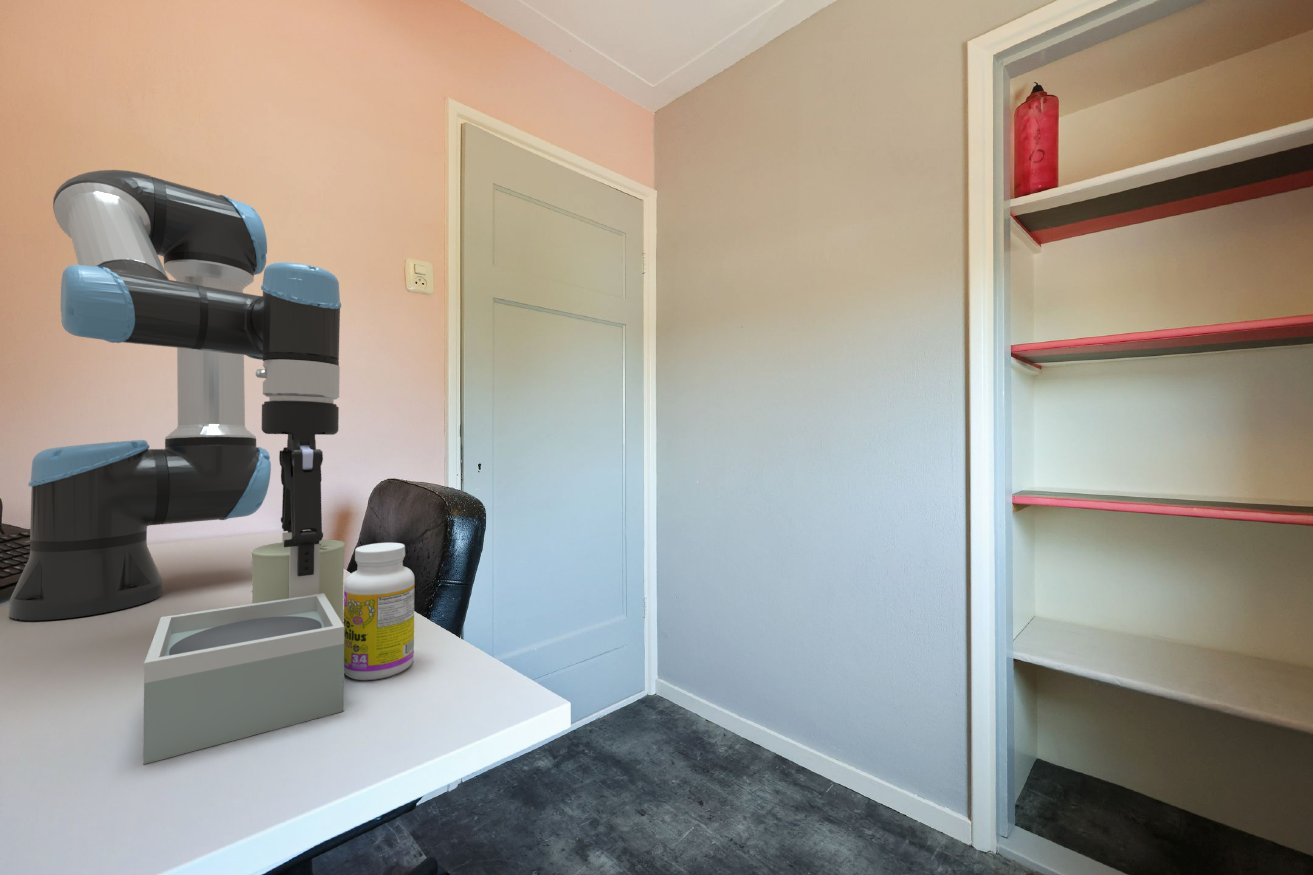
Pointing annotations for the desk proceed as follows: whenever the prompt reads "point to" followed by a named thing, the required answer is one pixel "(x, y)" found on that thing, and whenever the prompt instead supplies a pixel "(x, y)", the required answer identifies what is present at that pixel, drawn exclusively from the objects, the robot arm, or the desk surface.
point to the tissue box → (240, 673)
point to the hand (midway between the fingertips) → (299, 593)
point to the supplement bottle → (378, 613)
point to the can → (274, 573)
